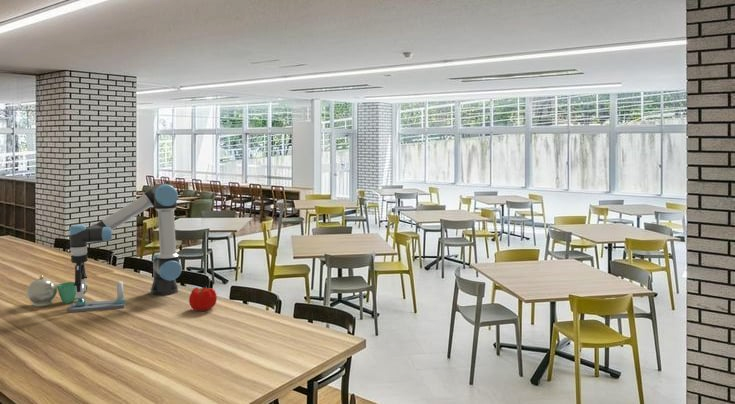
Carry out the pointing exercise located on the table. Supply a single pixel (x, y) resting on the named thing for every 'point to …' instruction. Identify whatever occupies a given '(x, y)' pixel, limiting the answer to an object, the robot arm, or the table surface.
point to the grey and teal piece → (102, 303)
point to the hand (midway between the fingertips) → (81, 294)
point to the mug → (68, 292)
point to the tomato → (202, 299)
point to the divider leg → (81, 300)
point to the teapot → (42, 292)
